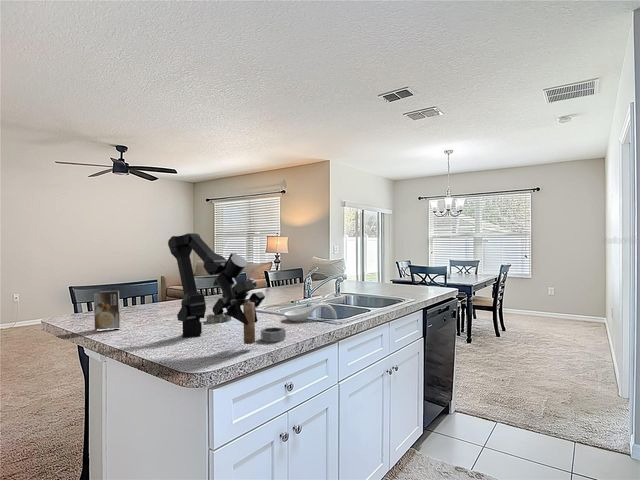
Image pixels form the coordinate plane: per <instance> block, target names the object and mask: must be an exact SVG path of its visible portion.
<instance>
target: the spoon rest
mask: <svg viewBox="0 0 640 480" xmlns="http://www.w3.org/2000/svg"><path fill="white" fill-rule="evenodd" d="M322 307H324V308H327V309H330V311H331V312H332V317H333V319H334V320H337V317H338V316H337V312H336V310H335V309H334V308H333V307H332V305H330V304H327V303H325V302H320V303H316V304H312V305H310V306H307V307H304V308H299V309H293V310H289V311H286V312H284V313H283V316H284V317H285V318H286V319H287V320H289V321H291V322H304V321H306V320H307V319H308V318H309V317H310V316H311V315H312V313H314V312H315V311H316V310H318V309H319V308H322Z"/></svg>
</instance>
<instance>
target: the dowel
mask: <svg viewBox="0 0 640 480" xmlns="http://www.w3.org/2000/svg"><path fill="white" fill-rule="evenodd" d="M242 309H243V310H242V311H243V313H244V315H245V317H246V319H247V321H248V324H247V325H245V324H244V323H243V344H245V345H252V344H255V343H256V323H255V310H256V308H254V302H245V303H243V305H242Z"/></svg>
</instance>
